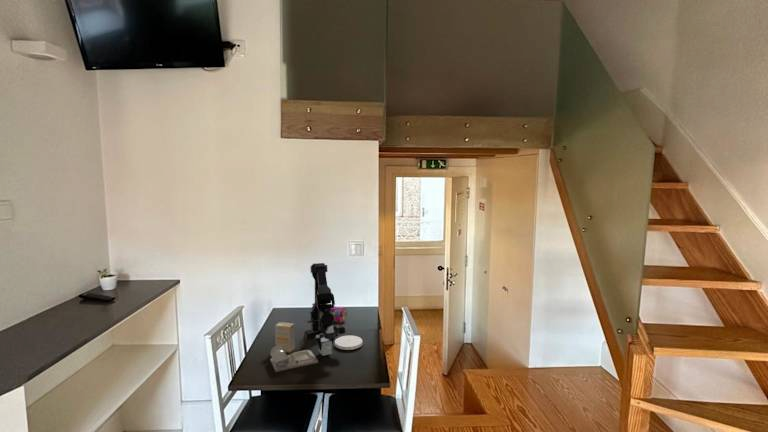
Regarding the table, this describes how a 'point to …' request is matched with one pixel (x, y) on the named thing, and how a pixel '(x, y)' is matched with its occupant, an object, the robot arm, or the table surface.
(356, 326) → the table surface
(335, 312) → the pencil case
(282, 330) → the supplement box
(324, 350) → the grey block with cylinder
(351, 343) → the plastic lid
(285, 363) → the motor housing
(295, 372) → the table surface
